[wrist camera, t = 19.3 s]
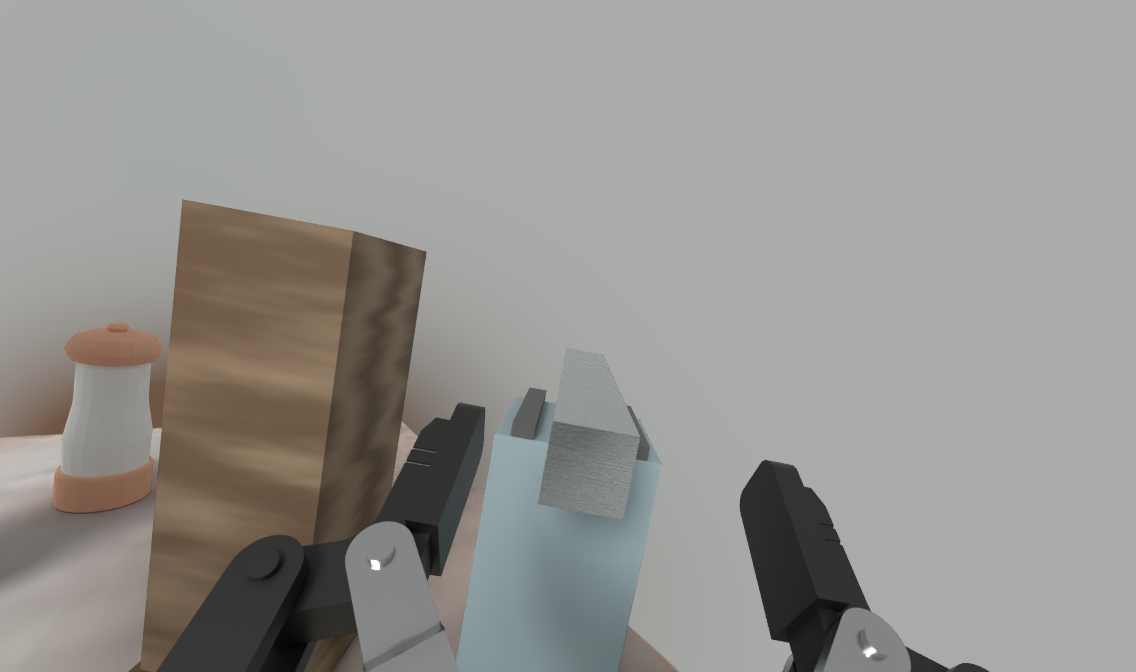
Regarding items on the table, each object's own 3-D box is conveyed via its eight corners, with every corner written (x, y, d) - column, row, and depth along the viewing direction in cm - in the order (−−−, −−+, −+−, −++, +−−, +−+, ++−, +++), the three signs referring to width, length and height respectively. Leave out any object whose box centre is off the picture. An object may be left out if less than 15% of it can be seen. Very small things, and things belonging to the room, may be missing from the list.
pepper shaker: (30, 504, 43) (41, 318, 41) (112, 474, 50) (124, 315, 48) (96, 519, 43) (110, 332, 41) (169, 487, 50) (184, 327, 48)
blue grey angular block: (478, 614, 40) (518, 385, 37) (594, 635, 40) (641, 408, 37) (445, 721, 30) (497, 418, 27) (601, 750, 30) (665, 449, 27)
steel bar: (559, 384, 45) (566, 348, 45) (596, 391, 45) (603, 355, 45) (537, 504, 20) (553, 420, 19) (623, 520, 20) (640, 436, 19)
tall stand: (272, 567, 41) (312, 231, 37) (385, 588, 41) (436, 253, 37) (113, 710, 27) (156, 193, 23) (286, 742, 27) (352, 230, 23)
